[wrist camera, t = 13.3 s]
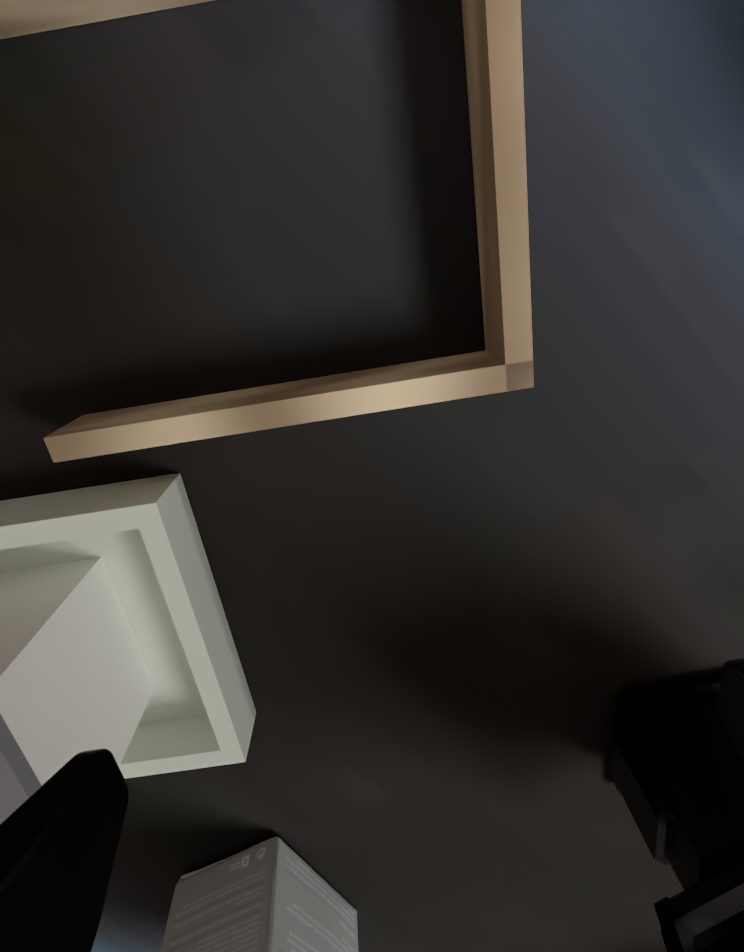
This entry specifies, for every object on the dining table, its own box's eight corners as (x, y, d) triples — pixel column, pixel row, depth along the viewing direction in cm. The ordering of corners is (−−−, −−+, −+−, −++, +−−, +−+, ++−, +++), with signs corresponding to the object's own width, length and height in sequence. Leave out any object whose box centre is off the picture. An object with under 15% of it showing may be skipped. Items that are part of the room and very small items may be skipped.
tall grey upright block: (100, 557, 19) (-26, 706, 13) (155, 688, 22) (71, 869, 15) (-15, 574, 20) (-197, 731, 13) (52, 703, 22) (-74, 888, 16)
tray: (179, 472, 19) (155, 502, 17) (256, 711, 23) (245, 762, 21) (-131, 521, 19) (-197, 557, 17) (3, 747, 24) (-35, 800, 21)
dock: (487, -91, 13) (515, -164, 11) (510, 370, 18) (534, 387, 16) (-70, 11, 14) (-155, -38, 11) (91, 436, 18) (53, 462, 16)
